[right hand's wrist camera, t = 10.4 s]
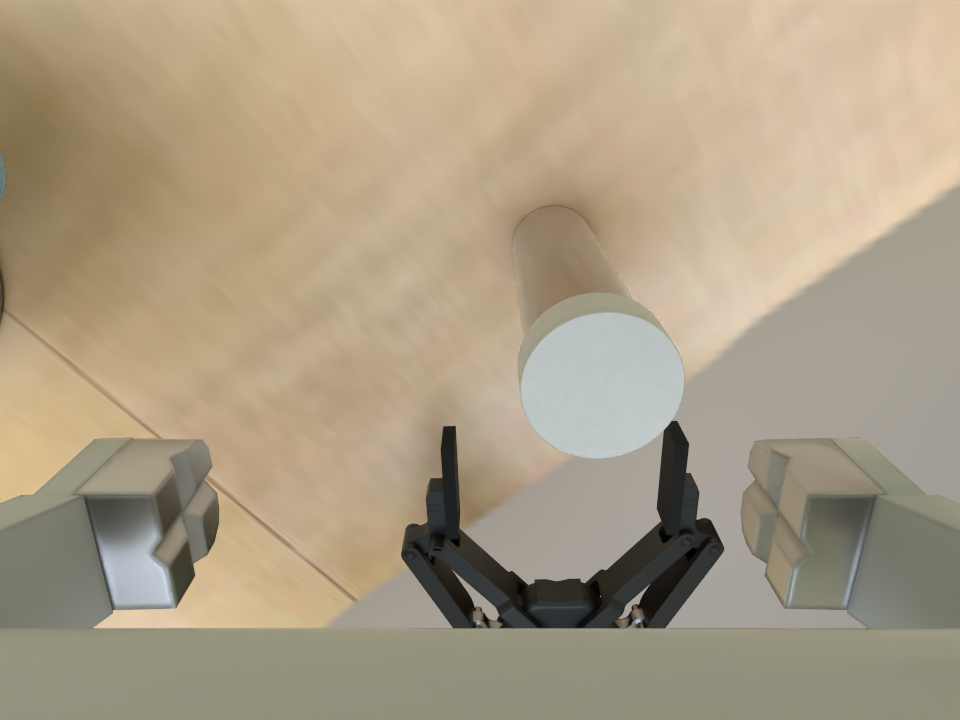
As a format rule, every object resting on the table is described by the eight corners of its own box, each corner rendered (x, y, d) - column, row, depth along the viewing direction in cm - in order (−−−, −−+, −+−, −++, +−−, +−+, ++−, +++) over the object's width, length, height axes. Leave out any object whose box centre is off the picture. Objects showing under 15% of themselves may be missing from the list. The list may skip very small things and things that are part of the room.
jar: (542, 300, 44) (581, 467, 26) (495, 238, 43) (502, 371, 25) (609, 254, 43) (697, 396, 25) (562, 188, 41) (621, 289, 23)
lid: (573, 454, 28) (579, 485, 26) (487, 350, 26) (487, 375, 24) (698, 377, 27) (715, 403, 25) (616, 260, 25) (627, 278, 23)
